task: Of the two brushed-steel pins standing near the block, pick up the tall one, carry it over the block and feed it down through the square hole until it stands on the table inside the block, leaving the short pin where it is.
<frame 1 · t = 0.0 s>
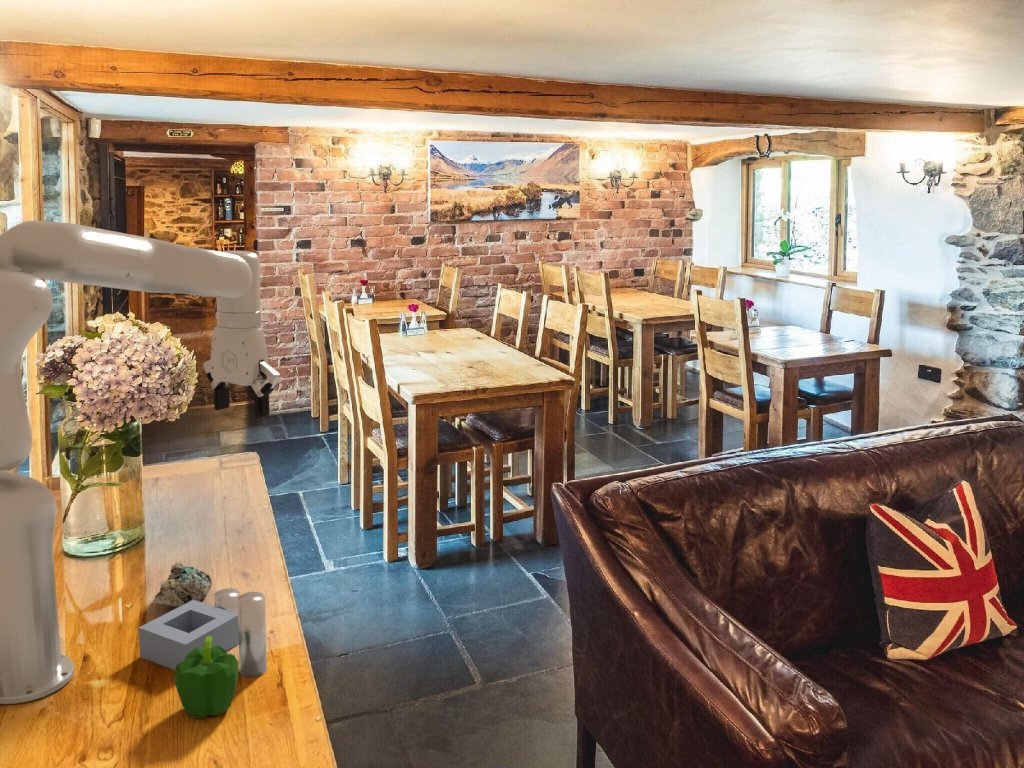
hand: (241, 412, 161), 31 cm above the table, fingers open, 9 cm apart
bell pepper: (209, 709, 124), on the table
short pin: (228, 626, 147), on the table
long pin: (253, 670, 134), on the table
hole block: (190, 649, 139), on the table
mineral specimen: (185, 602, 155), on the table
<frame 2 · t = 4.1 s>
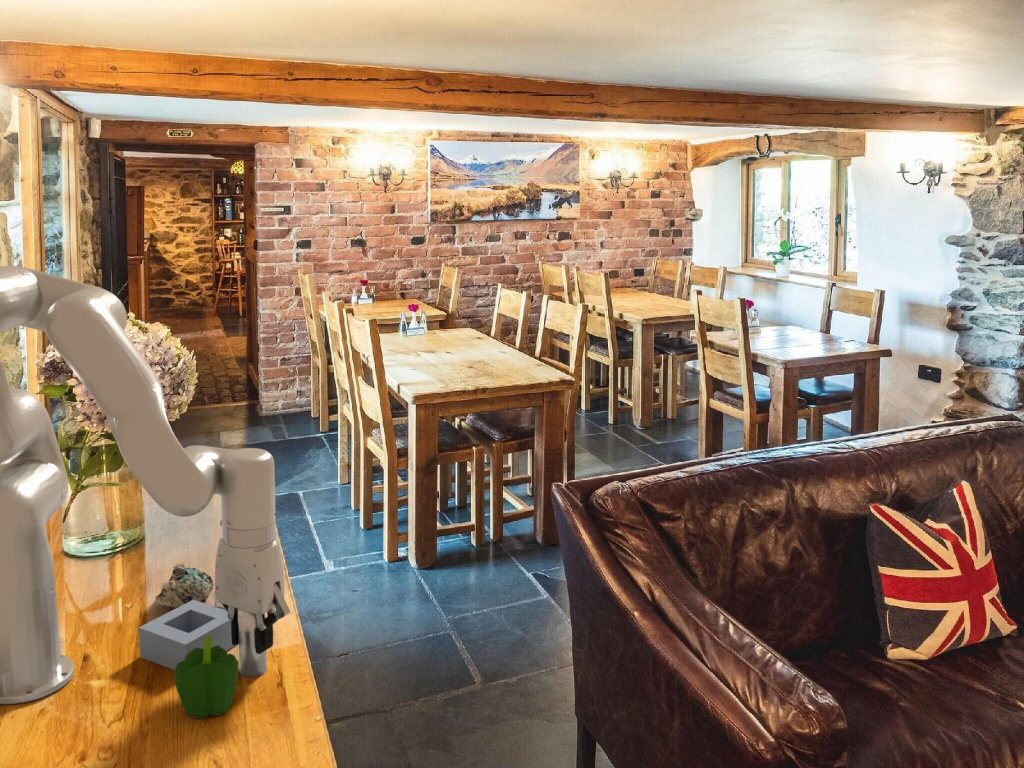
hand: (252, 644, 133), 4 cm above the table, fingers closed on long pin, 4 cm apart
long pin: (253, 670, 134), on the table, touching gripper
everything else where it was.
when the fingers open (7 cm above the table, at t = 8.8 s): long pin drops 2 cm, resting in hole block.
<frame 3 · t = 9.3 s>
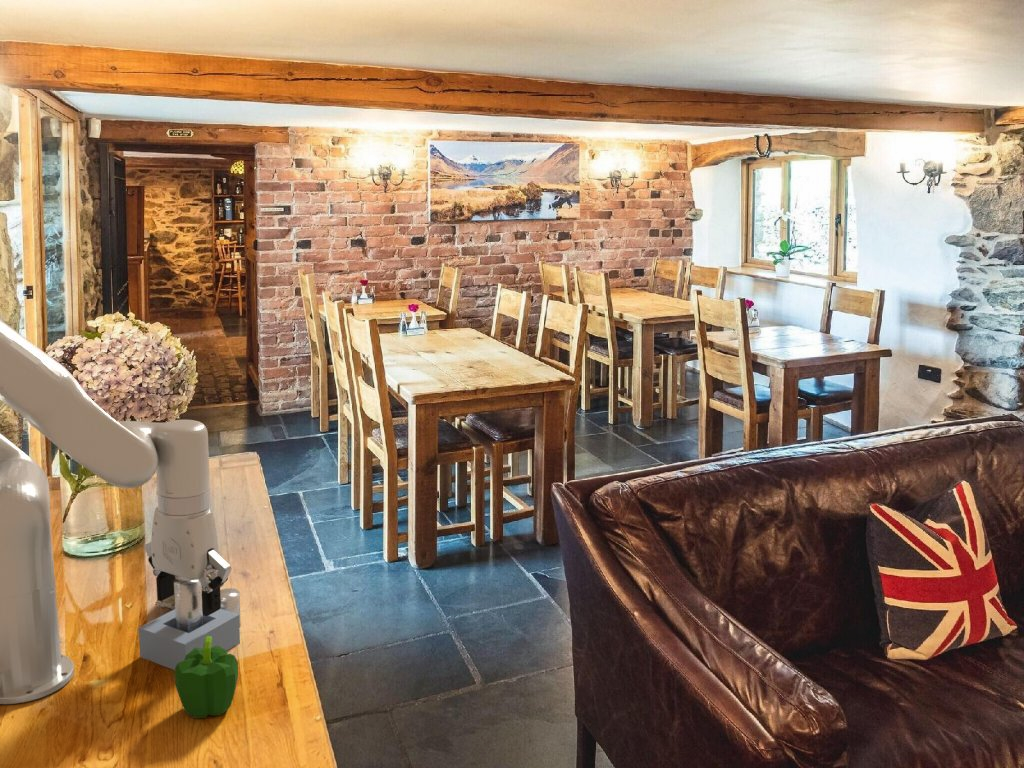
hand: (188, 604, 137), 8 cm above the table, fingers open, 9 cm apart
long pin: (190, 650, 139), resting in hole block
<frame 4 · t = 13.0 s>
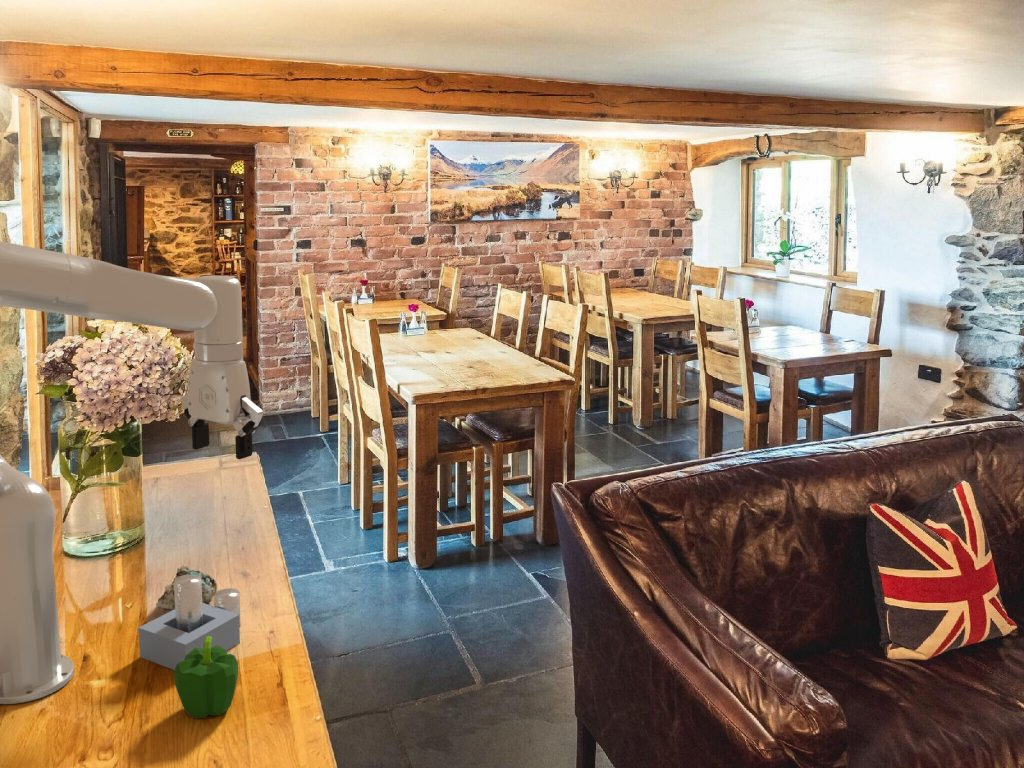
hand: (222, 452, 147), 28 cm above the table, fingers open, 9 cm apart
at the end: long pin 0.0 cm off-centre on the hole block, point 0.0 cm above the hole block's base; long pin tilted 0°; the gripper is holding nothing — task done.
